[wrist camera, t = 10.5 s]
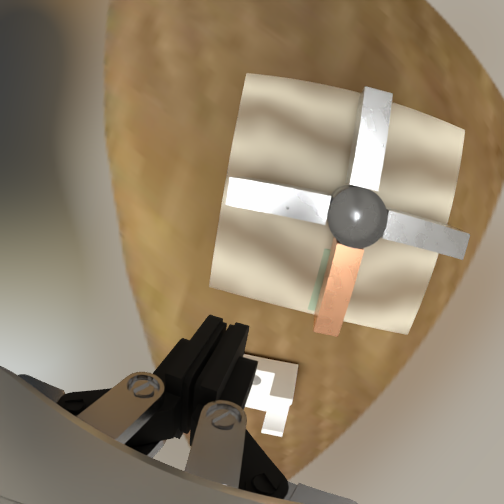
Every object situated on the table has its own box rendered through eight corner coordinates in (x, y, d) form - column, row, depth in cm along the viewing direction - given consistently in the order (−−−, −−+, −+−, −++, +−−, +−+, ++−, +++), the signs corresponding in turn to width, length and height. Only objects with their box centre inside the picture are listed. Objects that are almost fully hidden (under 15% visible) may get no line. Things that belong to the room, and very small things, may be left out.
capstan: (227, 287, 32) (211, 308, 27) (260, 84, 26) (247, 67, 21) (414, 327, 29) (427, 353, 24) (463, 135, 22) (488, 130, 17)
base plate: (249, 77, 28) (246, 72, 26) (459, 131, 24) (465, 130, 22) (213, 282, 35) (208, 287, 33) (404, 328, 31) (407, 335, 29)
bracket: (299, 360, 35) (292, 399, 28) (289, 397, 38) (281, 436, 30) (202, 339, 38) (179, 372, 31) (202, 378, 40) (182, 411, 33)
